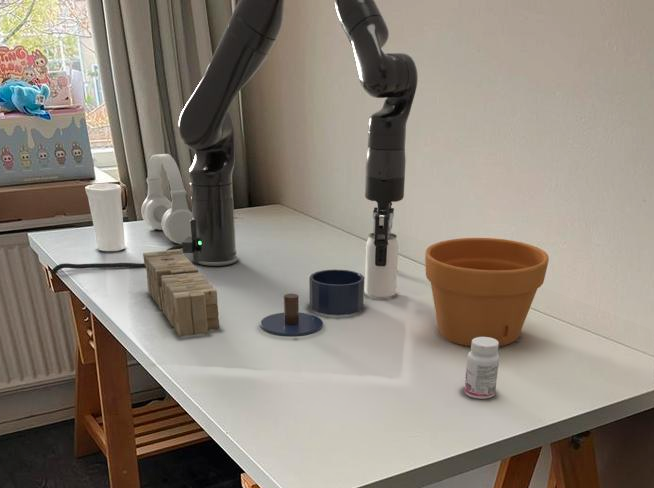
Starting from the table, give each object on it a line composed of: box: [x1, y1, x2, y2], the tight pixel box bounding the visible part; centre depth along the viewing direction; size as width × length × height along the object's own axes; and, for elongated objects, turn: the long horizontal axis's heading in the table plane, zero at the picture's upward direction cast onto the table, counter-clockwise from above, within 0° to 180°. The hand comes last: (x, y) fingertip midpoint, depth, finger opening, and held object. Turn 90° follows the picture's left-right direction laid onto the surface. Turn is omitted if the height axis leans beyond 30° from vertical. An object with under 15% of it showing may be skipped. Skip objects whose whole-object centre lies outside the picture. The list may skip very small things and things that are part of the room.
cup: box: [84, 183, 126, 252], centre depth 182 cm, size 8×8×14 cm
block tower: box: [142, 249, 220, 337], centre depth 147 cm, size 8×8×29 cm
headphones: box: [140, 153, 193, 245], centre depth 193 cm, size 20×8×19 cm, turn 31°
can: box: [364, 232, 399, 298], centre depth 157 cm, size 6×6×12 cm
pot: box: [308, 269, 365, 316], centre depth 150 cm, size 10×10×6 cm
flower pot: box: [424, 237, 550, 348], centre depth 138 cm, size 21×21×15 cm
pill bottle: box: [463, 337, 500, 400], centre depth 117 cm, size 5×5×8 cm
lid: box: [259, 293, 324, 337], centre depth 141 cm, size 11×11×6 cm
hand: (381, 260), depth 156 cm, fingers closed on can, 6 cm apart
